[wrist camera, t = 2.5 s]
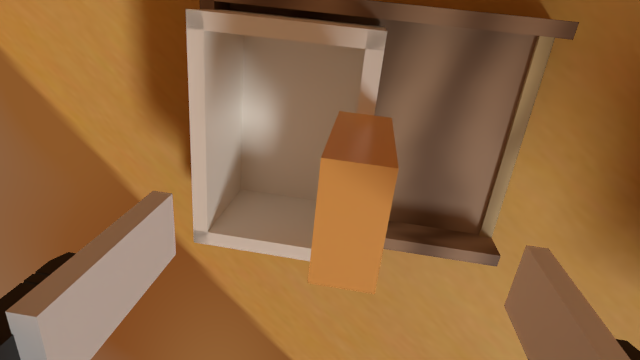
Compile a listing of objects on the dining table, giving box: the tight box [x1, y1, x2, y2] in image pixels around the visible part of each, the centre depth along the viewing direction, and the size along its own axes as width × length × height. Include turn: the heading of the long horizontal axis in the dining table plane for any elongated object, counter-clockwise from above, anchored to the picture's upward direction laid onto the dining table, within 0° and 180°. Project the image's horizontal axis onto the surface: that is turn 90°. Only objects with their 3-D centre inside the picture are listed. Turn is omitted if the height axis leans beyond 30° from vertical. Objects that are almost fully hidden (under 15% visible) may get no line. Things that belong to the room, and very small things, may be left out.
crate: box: [186, 9, 399, 294], centre depth 24 cm, size 12×15×16 cm
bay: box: [200, 0, 579, 266], centre depth 30 cm, size 24×18×4 cm
